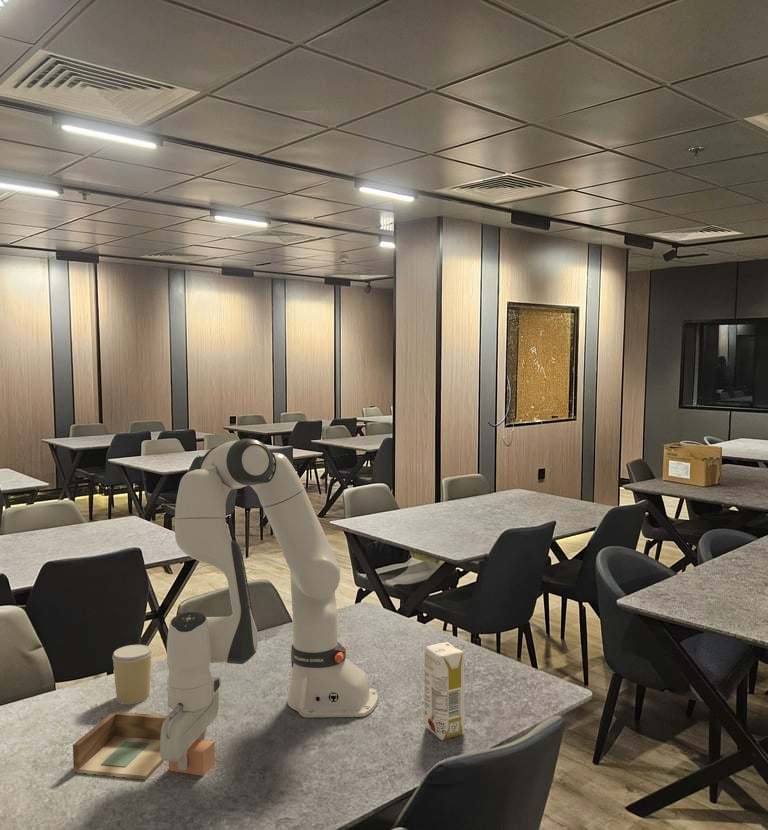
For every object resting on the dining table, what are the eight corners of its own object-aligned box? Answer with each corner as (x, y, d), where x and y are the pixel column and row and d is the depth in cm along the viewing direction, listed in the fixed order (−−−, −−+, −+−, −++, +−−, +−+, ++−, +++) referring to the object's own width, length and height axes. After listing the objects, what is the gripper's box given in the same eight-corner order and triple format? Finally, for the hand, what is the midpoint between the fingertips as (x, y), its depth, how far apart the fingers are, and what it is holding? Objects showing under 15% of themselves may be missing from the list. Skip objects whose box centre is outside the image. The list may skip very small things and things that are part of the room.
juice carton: (440, 743, 158) (440, 658, 157) (420, 726, 166) (420, 645, 165) (469, 735, 162) (469, 652, 161) (448, 719, 170) (448, 639, 169)
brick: (214, 765, 151) (214, 741, 150) (203, 776, 146) (203, 752, 146) (180, 759, 153) (180, 736, 152) (168, 771, 148) (168, 747, 148)
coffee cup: (160, 692, 185) (159, 646, 184) (136, 708, 176) (135, 660, 176) (130, 687, 188) (128, 642, 188) (105, 702, 179) (104, 655, 179)
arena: (180, 742, 160) (179, 716, 159) (146, 779, 145) (145, 751, 145) (113, 736, 162) (113, 711, 162) (73, 772, 148) (72, 744, 147)
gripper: (181, 718, 138) (182, 789, 139) (224, 675, 158) (225, 736, 159) (150, 716, 139) (152, 785, 140) (196, 673, 159) (198, 734, 160)
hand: (191, 759), depth 149 cm, fingers open, 5 cm apart
